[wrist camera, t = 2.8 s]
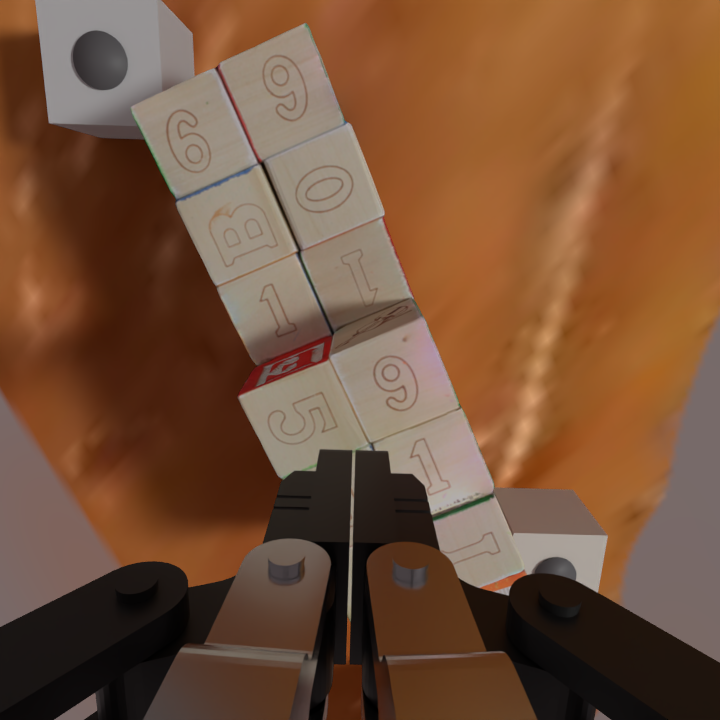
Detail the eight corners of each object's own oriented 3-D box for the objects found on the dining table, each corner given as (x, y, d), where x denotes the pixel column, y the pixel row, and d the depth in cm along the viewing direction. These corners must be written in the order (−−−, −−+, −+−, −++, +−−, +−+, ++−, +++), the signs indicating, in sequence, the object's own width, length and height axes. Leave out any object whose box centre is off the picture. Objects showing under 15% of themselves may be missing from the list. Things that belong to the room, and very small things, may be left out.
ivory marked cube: (491, 486, 30) (514, 534, 26) (572, 489, 30) (608, 537, 26) (484, 556, 32) (504, 614, 27) (561, 559, 32) (595, 617, 27)
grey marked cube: (92, 30, 24) (32, -11, 20) (193, 34, 24) (155, -6, 20) (101, 138, 26) (46, 122, 21) (197, 141, 26) (163, 126, 21)
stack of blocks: (207, 139, 26) (74, 78, 14) (329, 84, 25) (301, -30, 13) (375, 514, 31) (384, 704, 19) (480, 476, 30) (557, 648, 18)
